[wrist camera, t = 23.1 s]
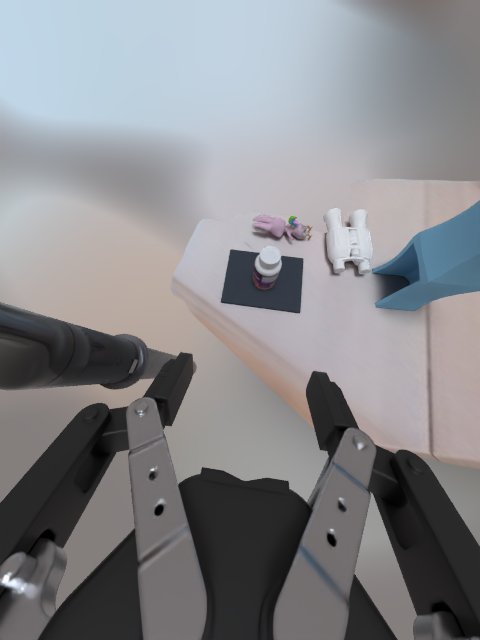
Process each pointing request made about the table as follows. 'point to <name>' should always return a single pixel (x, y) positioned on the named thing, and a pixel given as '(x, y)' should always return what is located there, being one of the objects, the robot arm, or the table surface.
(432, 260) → the vase
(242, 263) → the mat
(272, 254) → the pill bottle
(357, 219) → the binoculars
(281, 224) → the pink figurine
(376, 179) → the table surface
